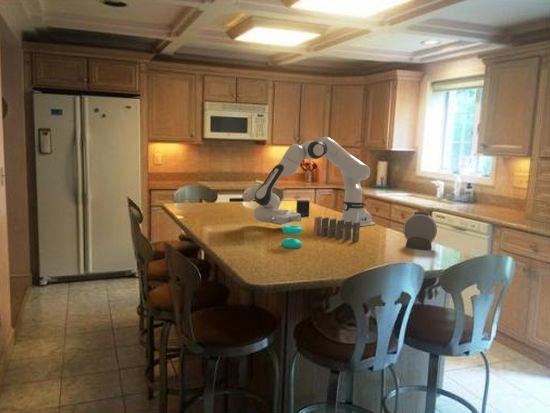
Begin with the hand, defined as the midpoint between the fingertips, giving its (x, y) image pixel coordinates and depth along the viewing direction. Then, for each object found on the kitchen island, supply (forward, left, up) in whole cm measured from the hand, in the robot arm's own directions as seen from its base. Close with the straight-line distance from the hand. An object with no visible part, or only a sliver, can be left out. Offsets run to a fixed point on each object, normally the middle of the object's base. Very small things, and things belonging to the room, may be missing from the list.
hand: (300, 219), depth 266 cm
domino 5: (-14, +25, -7) cm, 30 cm away
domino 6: (-17, +29, -7) cm, 34 cm away
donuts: (+23, +31, -7) cm, 39 cm away
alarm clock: (-39, +52, -7) cm, 65 cm away
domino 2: (-8, +14, -7) cm, 17 cm away
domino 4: (-12, +21, -7) cm, 26 cm away
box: (-32, -49, -7) cm, 59 cm away
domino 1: (-6, +10, -7) cm, 13 cm away
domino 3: (-10, +17, -7) cm, 21 cm away
